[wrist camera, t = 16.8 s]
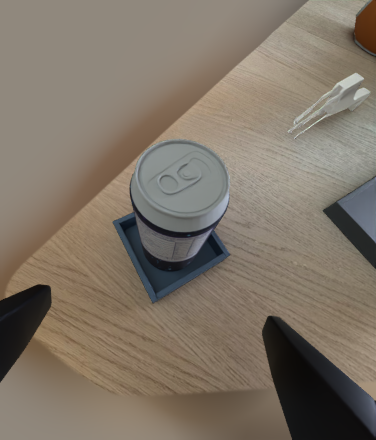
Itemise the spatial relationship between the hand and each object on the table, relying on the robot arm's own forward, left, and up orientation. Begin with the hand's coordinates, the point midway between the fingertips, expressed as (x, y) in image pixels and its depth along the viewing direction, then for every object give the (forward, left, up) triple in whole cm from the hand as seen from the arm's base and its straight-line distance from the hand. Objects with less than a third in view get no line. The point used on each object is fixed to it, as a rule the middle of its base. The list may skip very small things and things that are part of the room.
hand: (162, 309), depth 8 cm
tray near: (+4, +5, -11) cm, 13 cm away
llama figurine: (+38, +12, -12) cm, 42 cm away
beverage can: (+4, +5, -11) cm, 13 cm away
